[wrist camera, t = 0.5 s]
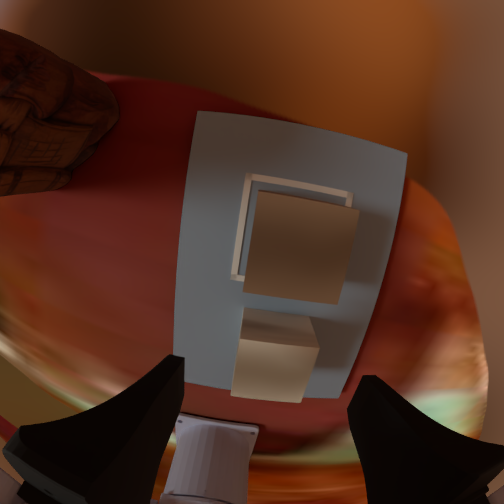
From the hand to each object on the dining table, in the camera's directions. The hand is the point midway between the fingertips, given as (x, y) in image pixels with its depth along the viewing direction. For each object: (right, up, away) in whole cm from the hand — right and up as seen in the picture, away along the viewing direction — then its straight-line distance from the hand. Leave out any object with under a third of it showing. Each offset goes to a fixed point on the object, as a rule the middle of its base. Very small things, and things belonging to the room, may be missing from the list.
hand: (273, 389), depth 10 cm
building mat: (+1, +4, +9) cm, 10 cm away
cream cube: (0, -1, +9) cm, 9 cm away
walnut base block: (+2, +6, +7) cm, 10 cm away
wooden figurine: (-15, +14, +7) cm, 22 cm away
